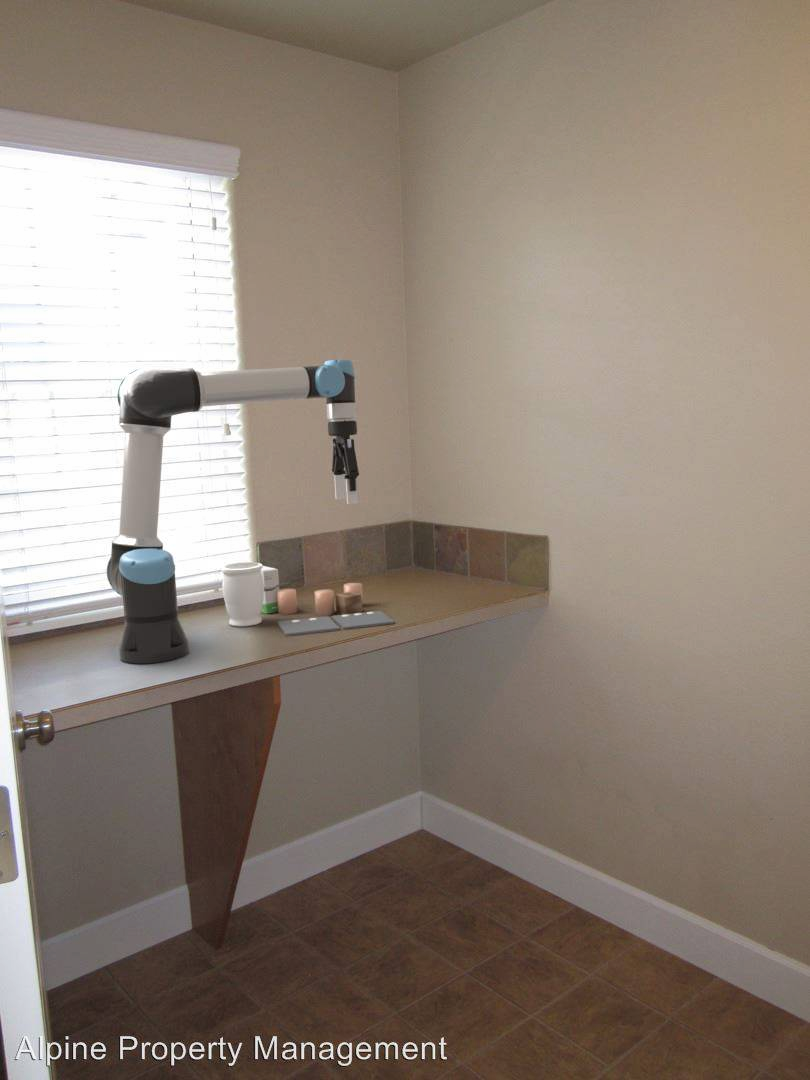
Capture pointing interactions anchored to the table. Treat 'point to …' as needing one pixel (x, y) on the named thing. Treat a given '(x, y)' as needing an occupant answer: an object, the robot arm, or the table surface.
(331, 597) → the pink rounded piece
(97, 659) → the table surface
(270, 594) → the ink box
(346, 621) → the pad three
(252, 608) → the jar
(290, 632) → the pad two
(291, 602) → the tan rounded block
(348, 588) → the pink rounded piece
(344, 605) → the walnut block
